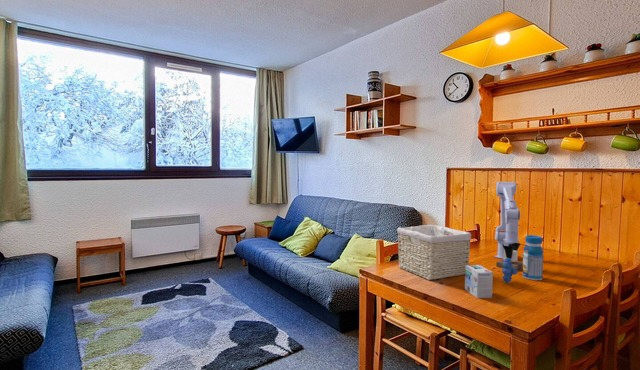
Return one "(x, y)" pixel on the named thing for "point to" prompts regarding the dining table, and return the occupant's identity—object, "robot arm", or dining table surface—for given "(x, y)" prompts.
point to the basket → (433, 251)
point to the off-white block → (514, 255)
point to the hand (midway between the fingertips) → (511, 257)
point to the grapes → (508, 270)
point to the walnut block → (515, 264)
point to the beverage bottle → (533, 258)
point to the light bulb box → (478, 281)
